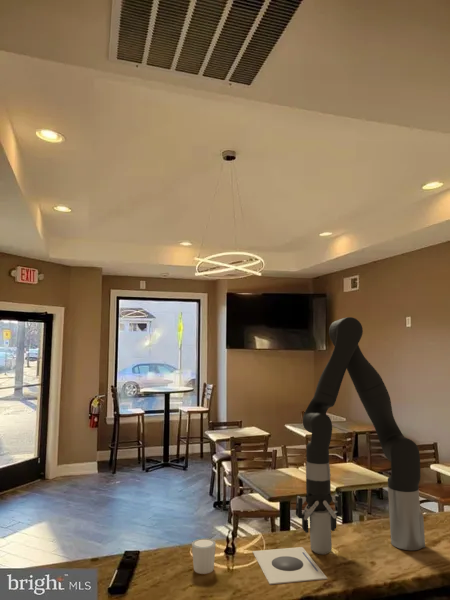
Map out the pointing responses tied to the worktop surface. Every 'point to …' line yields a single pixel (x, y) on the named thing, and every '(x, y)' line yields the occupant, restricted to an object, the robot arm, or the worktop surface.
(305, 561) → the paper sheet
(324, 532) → the beverage can
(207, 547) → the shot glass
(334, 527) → the robot arm
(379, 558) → the worktop surface
